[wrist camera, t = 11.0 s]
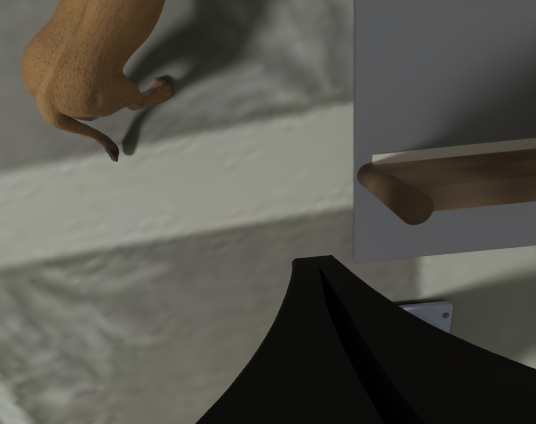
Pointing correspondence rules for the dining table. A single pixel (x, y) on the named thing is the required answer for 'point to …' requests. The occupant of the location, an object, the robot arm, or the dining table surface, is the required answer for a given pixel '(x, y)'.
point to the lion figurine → (90, 63)
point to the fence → (452, 183)
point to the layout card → (441, 113)
